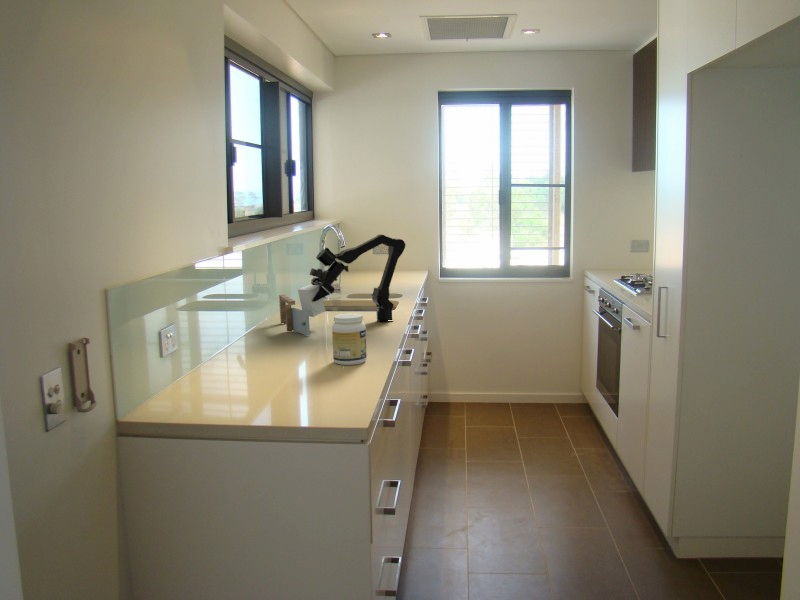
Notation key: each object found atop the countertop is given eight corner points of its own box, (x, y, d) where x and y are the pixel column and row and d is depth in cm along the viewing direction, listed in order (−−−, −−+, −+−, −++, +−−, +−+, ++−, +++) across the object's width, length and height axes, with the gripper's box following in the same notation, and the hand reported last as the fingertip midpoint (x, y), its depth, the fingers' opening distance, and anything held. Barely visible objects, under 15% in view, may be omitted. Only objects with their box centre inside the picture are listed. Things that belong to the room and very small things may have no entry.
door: (289, 330, 310) (288, 308, 308) (294, 329, 311) (293, 307, 309) (304, 336, 296) (303, 313, 295) (309, 335, 297) (308, 312, 296)
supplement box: (313, 317, 309) (308, 290, 305) (303, 315, 314) (297, 289, 310) (325, 311, 314) (320, 285, 310) (314, 310, 319) (309, 284, 315)
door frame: (296, 331, 309) (295, 301, 307) (287, 332, 308) (285, 301, 306) (285, 323, 330) (284, 294, 327) (277, 323, 328) (275, 295, 326)
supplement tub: (367, 365, 247) (365, 317, 244) (333, 366, 246) (330, 319, 243) (366, 356, 259) (364, 311, 256) (333, 358, 258) (331, 313, 255)
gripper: (314, 259, 320) (292, 285, 318) (325, 263, 303) (302, 290, 300) (331, 275, 324) (310, 301, 322) (344, 279, 307) (321, 307, 305)
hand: (310, 299), depth 312 cm, fingers closed on supplement box, 9 cm apart
